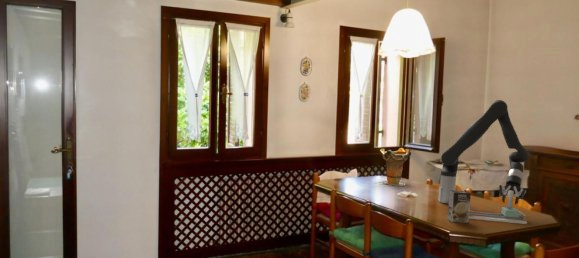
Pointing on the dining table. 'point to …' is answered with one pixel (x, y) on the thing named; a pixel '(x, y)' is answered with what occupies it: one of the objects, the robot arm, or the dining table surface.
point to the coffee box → (459, 206)
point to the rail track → (497, 217)
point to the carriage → (510, 207)
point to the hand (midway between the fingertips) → (509, 202)
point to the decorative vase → (395, 165)
